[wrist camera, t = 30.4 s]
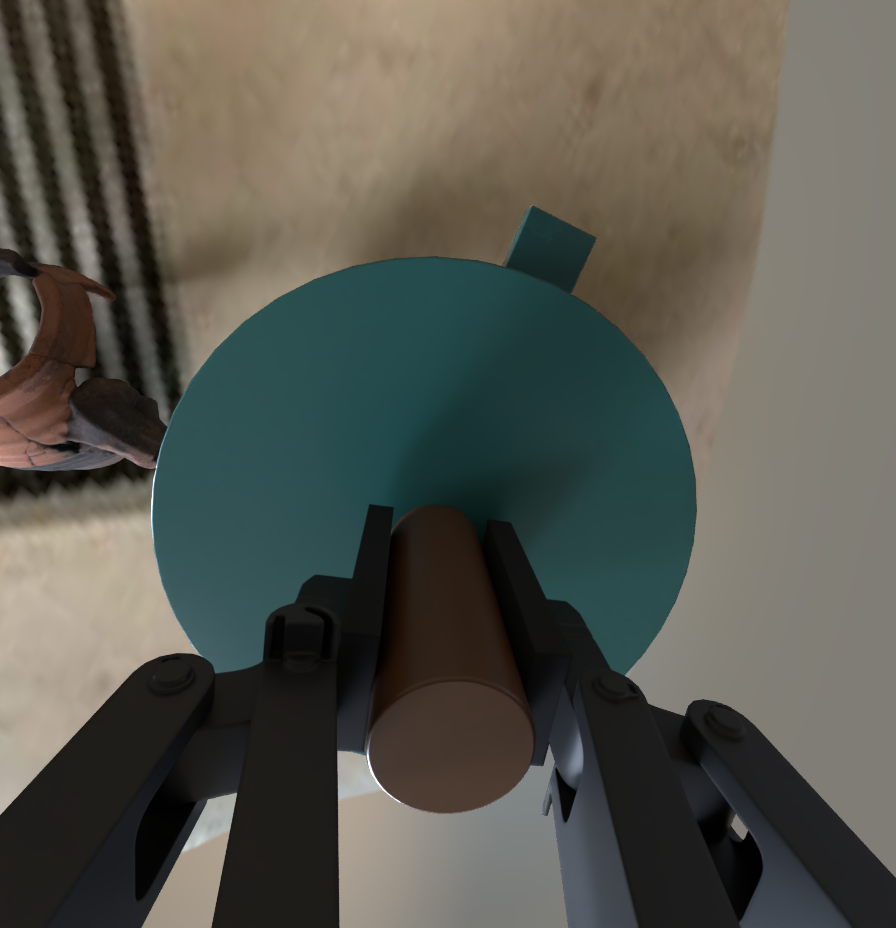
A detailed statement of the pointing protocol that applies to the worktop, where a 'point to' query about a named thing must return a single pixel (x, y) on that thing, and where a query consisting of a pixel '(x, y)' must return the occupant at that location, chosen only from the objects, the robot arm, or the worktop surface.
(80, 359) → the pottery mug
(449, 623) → the lid
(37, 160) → the worktop surface
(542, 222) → the pot
